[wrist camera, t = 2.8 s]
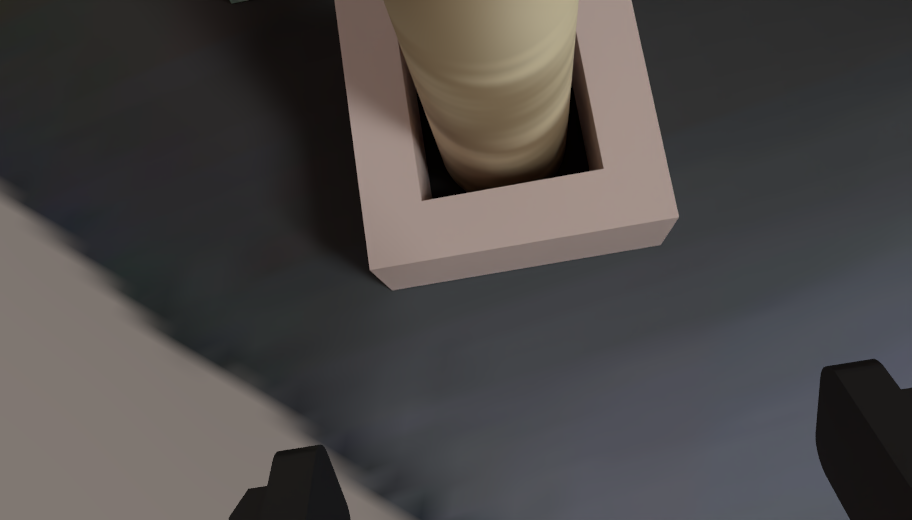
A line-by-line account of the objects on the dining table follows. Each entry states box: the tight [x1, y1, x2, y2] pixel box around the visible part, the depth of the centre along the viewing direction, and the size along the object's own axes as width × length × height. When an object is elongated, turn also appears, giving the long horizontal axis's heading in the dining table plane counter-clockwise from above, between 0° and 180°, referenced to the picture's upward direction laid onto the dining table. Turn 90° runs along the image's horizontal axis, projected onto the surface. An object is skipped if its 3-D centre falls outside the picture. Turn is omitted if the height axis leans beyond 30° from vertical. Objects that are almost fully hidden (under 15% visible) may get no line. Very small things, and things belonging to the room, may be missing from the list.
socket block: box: [334, 0, 679, 290], centre depth 29 cm, size 10×10×4 cm
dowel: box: [383, 0, 579, 193], centre depth 25 cm, size 5×5×12 cm
